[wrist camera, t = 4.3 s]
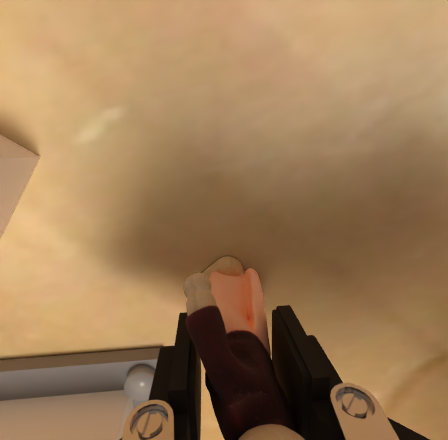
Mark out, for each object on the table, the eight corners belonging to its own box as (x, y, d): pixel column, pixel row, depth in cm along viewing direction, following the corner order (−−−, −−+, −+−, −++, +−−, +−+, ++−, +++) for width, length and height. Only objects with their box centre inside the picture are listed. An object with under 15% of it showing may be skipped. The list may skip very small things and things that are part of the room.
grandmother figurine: (287, 309, 17) (507, 702, 5) (238, 343, 17) (331, 795, 5) (214, 215, 15) (275, 469, 3) (160, 255, 16) (17, 634, 3)
